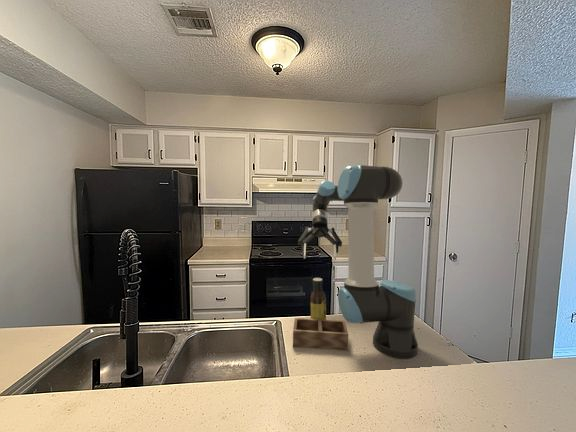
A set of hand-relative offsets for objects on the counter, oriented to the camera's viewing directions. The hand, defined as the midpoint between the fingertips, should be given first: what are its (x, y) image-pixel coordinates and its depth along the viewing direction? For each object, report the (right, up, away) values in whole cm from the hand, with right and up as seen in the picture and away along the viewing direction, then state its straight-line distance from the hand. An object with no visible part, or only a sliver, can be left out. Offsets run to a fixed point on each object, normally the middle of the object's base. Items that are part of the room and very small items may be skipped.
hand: (319, 257), depth 123 cm
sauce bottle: (-2, -27, -10) cm, 29 cm away
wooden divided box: (-3, -28, -21) cm, 35 cm away
